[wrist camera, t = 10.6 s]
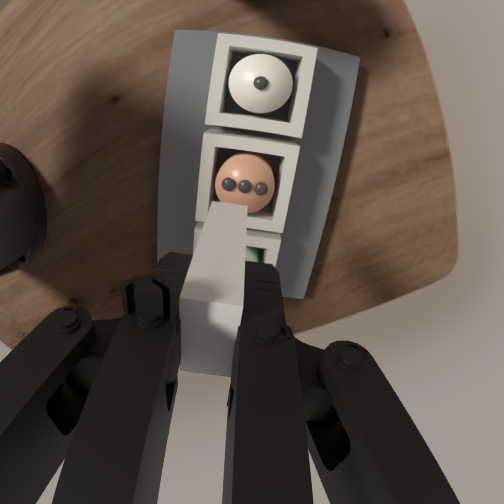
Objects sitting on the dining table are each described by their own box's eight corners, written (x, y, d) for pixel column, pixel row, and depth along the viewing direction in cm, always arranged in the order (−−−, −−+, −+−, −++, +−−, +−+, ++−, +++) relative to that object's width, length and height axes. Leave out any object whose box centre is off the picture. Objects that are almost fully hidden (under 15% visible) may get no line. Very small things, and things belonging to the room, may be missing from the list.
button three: (217, 195, 24) (211, 210, 21) (223, 146, 22) (218, 153, 19) (268, 203, 24) (269, 218, 21) (276, 153, 22) (279, 162, 19)
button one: (228, 107, 20) (224, 108, 18) (236, 56, 18) (233, 49, 16) (283, 115, 21) (287, 118, 18) (292, 64, 19) (297, 59, 16)
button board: (161, 270, 29) (148, 297, 25) (179, 33, 19) (163, 21, 15) (301, 289, 30) (307, 319, 26) (354, 59, 20) (373, 52, 16)
